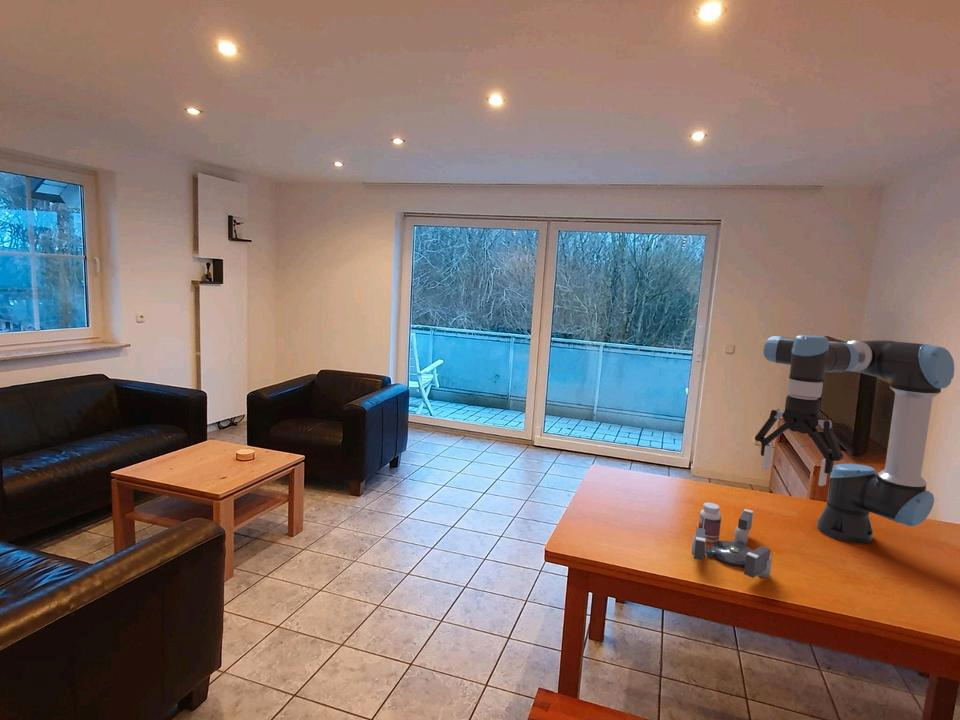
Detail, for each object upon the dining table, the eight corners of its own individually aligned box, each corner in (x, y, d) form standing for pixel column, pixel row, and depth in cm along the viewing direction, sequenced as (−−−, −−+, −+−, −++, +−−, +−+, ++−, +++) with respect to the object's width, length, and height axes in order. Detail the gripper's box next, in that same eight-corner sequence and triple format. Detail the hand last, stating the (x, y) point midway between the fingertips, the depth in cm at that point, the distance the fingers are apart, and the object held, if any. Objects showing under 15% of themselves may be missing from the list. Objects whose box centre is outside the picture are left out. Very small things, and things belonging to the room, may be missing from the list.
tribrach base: (744, 546, 165) (745, 538, 164) (764, 572, 150) (765, 563, 150) (698, 542, 166) (699, 534, 166) (713, 567, 152) (714, 558, 151)
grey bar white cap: (758, 569, 152) (762, 541, 150) (772, 575, 149) (775, 547, 148) (740, 581, 145) (744, 552, 144) (754, 587, 142) (757, 558, 141)
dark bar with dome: (691, 549, 162) (694, 523, 160) (704, 552, 160) (707, 526, 159) (690, 566, 152) (693, 538, 150) (704, 569, 150) (707, 541, 149)
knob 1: (745, 548, 164) (748, 522, 162) (732, 544, 166) (735, 519, 164) (752, 535, 172) (755, 511, 171) (740, 532, 174) (743, 508, 173)
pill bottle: (722, 540, 168) (726, 507, 166) (711, 545, 165) (714, 511, 163) (705, 532, 173) (708, 500, 172) (693, 536, 170) (696, 503, 168)
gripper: (866, 404, 128) (853, 489, 132) (760, 386, 148) (751, 459, 151) (855, 408, 124) (842, 495, 127) (747, 388, 143) (738, 464, 146)
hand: (792, 476), depth 139 cm, fingers open, 13 cm apart
